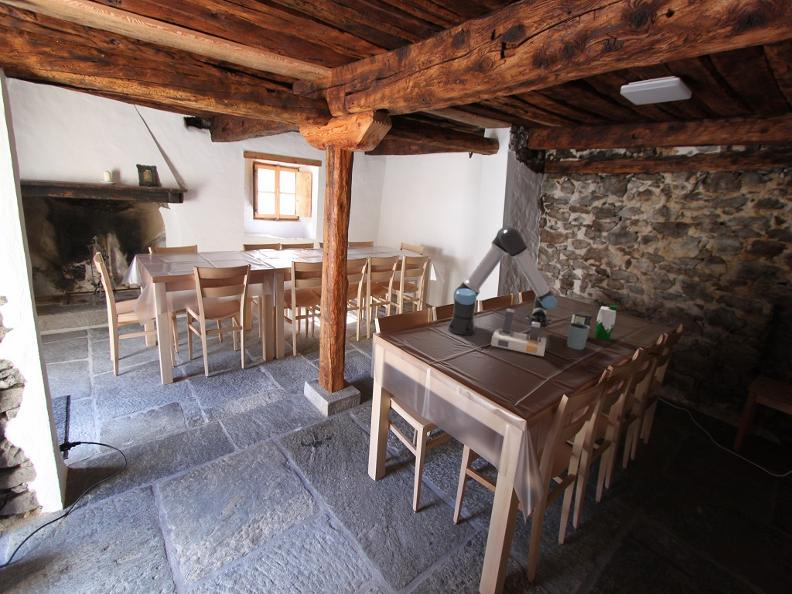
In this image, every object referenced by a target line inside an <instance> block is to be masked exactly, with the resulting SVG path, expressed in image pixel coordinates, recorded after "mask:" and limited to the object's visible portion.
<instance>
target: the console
mask: <svg viewBox="0 0 792 594" xmlns="http://www.w3.org/2000/svg"><path fill="white" fill-rule="evenodd" d="M546 343H547V338H546V337H543V336H540V335H539V336H538V341H536V340H531V339H530V333H522V332H521V333H520V332H516V331H514V330H511V332H510V333H508V332H503V328H496V329H495V331H494V332H493V334H492V336H491V341H490V345H491V346H492V347H496V348H497V347H498V348H501V349H506V350H511V351H515V352H516V351H517V352H521V353H525V354H530V355H534V356H535V355H536V356H540V357H544V355H545V349H546Z"/></svg>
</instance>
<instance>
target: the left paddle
mask: <svg viewBox="0 0 792 594" xmlns="http://www.w3.org/2000/svg"><path fill="white" fill-rule="evenodd" d="M514 316H515V309H512V308H506V312H505V316H504V321H503V327H502V330H503V332H508V333H510V332H511V331H512V327H513V321H514Z"/></svg>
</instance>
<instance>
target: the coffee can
mask: <svg viewBox="0 0 792 594" xmlns="http://www.w3.org/2000/svg"><path fill="white" fill-rule="evenodd" d="M592 318H593V314H592V313H590V312H588V311H582V310H573V311H572V316H571V322H570V323H580V324H584V325H587V326H589V327H591V323H592ZM589 332H590V331H589ZM589 332H588V334H589ZM588 337H589V335H588V336H587V339H588Z"/></svg>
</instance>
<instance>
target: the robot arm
mask: <svg viewBox="0 0 792 594" xmlns="http://www.w3.org/2000/svg"><path fill="white" fill-rule="evenodd" d="M506 255H507V256H508V255H509V256H510V257H511V258H512V259H514V261H515V262H516V264H517V265H518V267H519V269H520V271H521V273H522V274H523V275H524V277H525V279H526V280H527V282H528V284H529V285H530V287H531V288H532V291H533V293H534V294H535V298H534V304H533V309H532V314H531V315H526V318H525V320H526V322H527V323H529V325H530V326H531V325H532V322H537V323H541V324H540V329H542V328H543V329H545V328H546V327H548V326H549V325H551V323H552V319H551V318H549V319H548V317H547V314H548V310H550V311H551V310H552V309H555V308H556V307H557V305H558V300H557V298H556V297H555V296H554V295H553V293H552V291H551V290H552V289H551V288H552V287H551V286H549V285H548V284H547V282H546V280H545V279H544V278H543V276H542V274H541V272H540V270H539V269H538V267H537V265H536V264H535V262H534V260H533V258H532V257H531V255H530V253H529V251H528V246H527V243H526V242H525V240H524V238H523V235H522V233H521V232H520V231H519V230H518V229H516V228H515V227H513V226H510V225H509V226H503V227H502V228H500V229H498V231H497V232H496V235H495V237H494V239H493V240H492V242H491V247H490V248H489V251H487V253H486V254H485V255H484V257H483V258H482V260H481V261H480V263H478V265H477V266H476V268H475V269H474V271H473V272H472V273H471V275H470V276H468V277H469V278H468V279H467V280H463V282H461V284H460V285H459V286H458V287H457V288H456V289H455V291H454V293H453V303H454V304H453V311H452V317H451V320H450V321H449V323H448V326H447V327H448V328H447V329H448V331H449V332H450V333H452V334H455V335H457V336H472V335H474V334H475V333H476V325H475V320H474V317H475V310H476V309H475V308H476V302H477V297H478V295H479V294H480V289H481V287H482V286H483V285H484V284H485V282H486V281H487V279H488V278H489V277H490V276H491V275H492V273H493V272H494V270H495V268H497V266H498V264H499V263H500V262H501V261H502V260H503V257H505V256H506Z"/></svg>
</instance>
